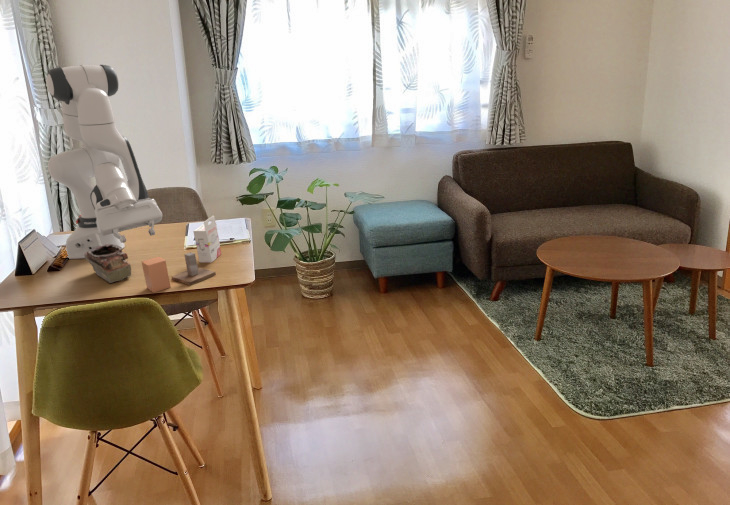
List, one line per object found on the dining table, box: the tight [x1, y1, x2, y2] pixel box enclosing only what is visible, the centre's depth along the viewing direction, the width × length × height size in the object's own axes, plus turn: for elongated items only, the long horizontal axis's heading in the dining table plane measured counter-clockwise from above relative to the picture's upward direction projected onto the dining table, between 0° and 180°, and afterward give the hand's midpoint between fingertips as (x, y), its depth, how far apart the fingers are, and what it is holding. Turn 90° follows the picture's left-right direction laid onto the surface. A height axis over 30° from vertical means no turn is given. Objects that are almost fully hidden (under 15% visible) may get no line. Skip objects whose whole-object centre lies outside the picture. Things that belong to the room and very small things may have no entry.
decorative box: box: [84, 244, 132, 284], centre depth 210 cm, size 13×20×10 cm, turn 36°
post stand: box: [171, 252, 217, 286], centre depth 203 cm, size 10×10×8 cm
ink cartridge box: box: [192, 215, 222, 263], centre depth 218 cm, size 9×5×15 cm, turn 168°
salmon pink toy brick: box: [141, 256, 172, 293], centre depth 196 cm, size 6×6×9 cm
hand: (138, 237), depth 200 cm, fingers open, 8 cm apart
